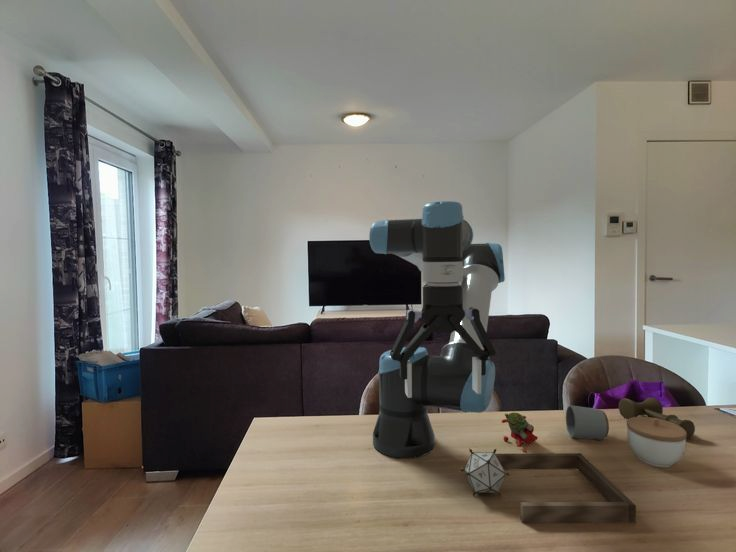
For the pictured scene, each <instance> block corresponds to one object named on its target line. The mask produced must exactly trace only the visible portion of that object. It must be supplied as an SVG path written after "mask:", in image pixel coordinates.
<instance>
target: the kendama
mask: <svg viewBox="0 0 736 552" xmlns="http://www.w3.org/2000/svg"><path fill="white" fill-rule="evenodd" d="M618 411H619V413H620V416H621V417H622V416H623V417H624V418H623V417H622V418H623V419H625V418H626V419H629V418H632V417H640V416H646V417H651V418H657V419H661V420H665V421H668V422H671V423H674V424H676V425H678V426H680V427H682V428H683V429H684V430H685V431H686V433H687V436H686V440H690V439H691V438H693V436H694V434H695V431H696V426H695V424H694V422H693V421H692V420H690V419H680V418H678V416H676V415H675V414H669V415H667V414H664V409H663V406H662V403H661V401H659V400H658V399H657V398H655V397H652V396H651V397H647V398H646V399H644V401H642V402H636V401H634V400H631V399H630V398H626V397H623V398H621V399H620V400H619V402H618ZM626 419H625V420H626Z"/></svg>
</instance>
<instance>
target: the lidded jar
mask: <svg viewBox="0 0 736 552" xmlns="http://www.w3.org/2000/svg"><path fill="white" fill-rule="evenodd" d="M626 428H627V429H626V433H627V434H626V435H627V441H628V444H629V446H630V448H631V450H632V451H633V453H634V454H635V455H636V456H637V458H638V459H639V460H640V461H642V462H643V463H645V464H647V465H650V466H653V467H657V468H669V467H671V466H672V465H674V464H676V463H678V461H679V462H680V460H681V458H682V457H683V455H684V452H685V448H686V443H687V442H686V441H687V439H686V436H687V433H686V431H685V430H684V429H683V428H682V427H680V426H678V425H676V424H674V423H671V422H668V421H665V420H661V419H657V418H652V417H650V416H638V417H632V418H629V419H628V420H626Z"/></svg>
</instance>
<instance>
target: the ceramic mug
mask: <svg viewBox="0 0 736 552" xmlns="http://www.w3.org/2000/svg"><path fill="white" fill-rule="evenodd" d="M565 426H566V431H567V434H568V435H569V437H570V438H571V439H572V438H575V439H585V440H586V439H589V440H590V439H592V440H604V439H606V438H607V437H608V435H609V431H610V425H609V419H608V416H607V414H606V413H605V411H603V410H602V409H598V408H596V407H595V408H593V407H586V406H578V405H572V404H571V405H568V406H567V409H566V410H565Z"/></svg>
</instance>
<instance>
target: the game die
mask: <svg viewBox="0 0 736 552" xmlns="http://www.w3.org/2000/svg"><path fill="white" fill-rule="evenodd" d="M468 449H469V453H470V456H469V458H468V460H467V462H466V465H465V467H464V468H460V472H463V473H464V475H466V476H465V477H467V479H468V481H469V484H470V486H471V488H472V490H473V492H472V497H475V496H476V494H477V493H478V494H479V493H481V494H482V493H483V494H484V493H485V494H497V496H498V497H499V498H501V493H500V492H499V491H500V489H501V487H502V485H503V483H504V480H505V478H506V476H507V477H510V476H511V475H512V474H511V473H510V472H506V470H504V469H503V467H502V465H501V463H500V461H499V460H498V458H497V456H496V454H497V448H494V449H493V451H484V452H483V451H482V452H481V451H474V452H473V450H472V448H468Z"/></svg>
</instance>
